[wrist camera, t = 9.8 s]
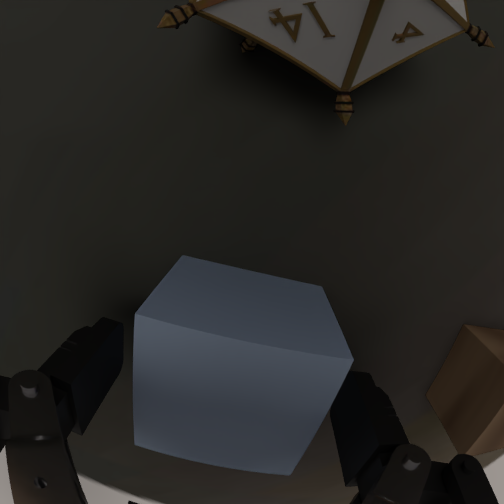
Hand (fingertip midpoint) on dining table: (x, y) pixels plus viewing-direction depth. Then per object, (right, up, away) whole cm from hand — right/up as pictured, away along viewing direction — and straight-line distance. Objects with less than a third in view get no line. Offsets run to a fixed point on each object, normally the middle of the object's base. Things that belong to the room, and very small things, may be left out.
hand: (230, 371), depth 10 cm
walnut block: (+13, -2, +3) cm, 13 cm away
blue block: (0, +1, +3) cm, 3 cm away
